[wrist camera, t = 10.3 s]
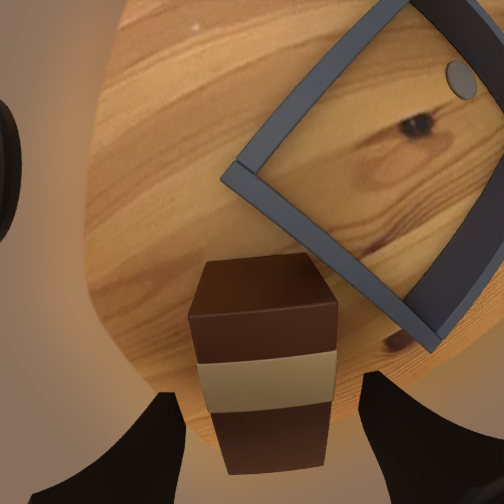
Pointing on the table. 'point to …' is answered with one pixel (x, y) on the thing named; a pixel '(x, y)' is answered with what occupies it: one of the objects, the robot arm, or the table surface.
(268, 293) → the brown tan banded block
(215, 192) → the table surface
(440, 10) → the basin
